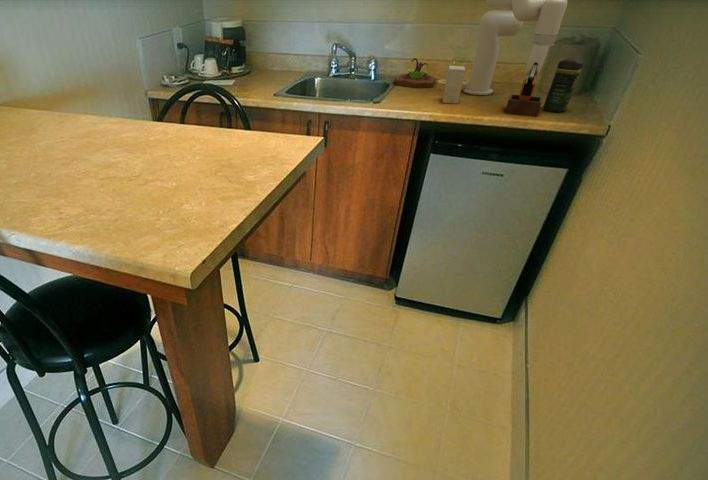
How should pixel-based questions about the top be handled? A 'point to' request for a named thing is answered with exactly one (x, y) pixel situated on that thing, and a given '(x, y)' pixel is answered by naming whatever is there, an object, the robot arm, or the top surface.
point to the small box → (453, 84)
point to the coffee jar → (563, 84)
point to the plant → (415, 77)
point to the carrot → (527, 98)
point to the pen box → (523, 105)
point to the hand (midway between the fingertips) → (526, 93)
